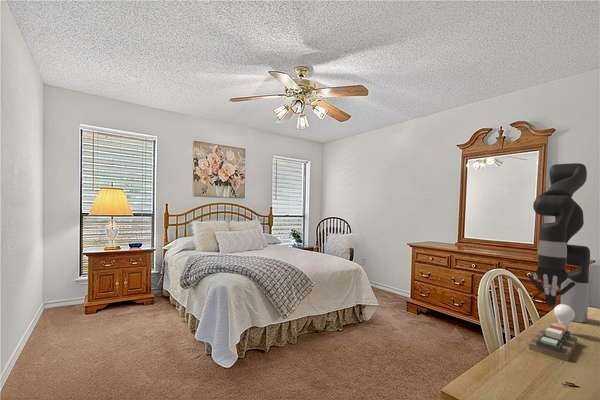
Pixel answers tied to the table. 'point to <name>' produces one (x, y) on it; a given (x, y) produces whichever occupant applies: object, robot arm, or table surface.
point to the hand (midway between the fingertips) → (550, 305)
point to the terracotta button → (558, 327)
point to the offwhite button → (554, 333)
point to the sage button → (549, 341)
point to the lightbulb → (564, 314)
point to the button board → (560, 351)
